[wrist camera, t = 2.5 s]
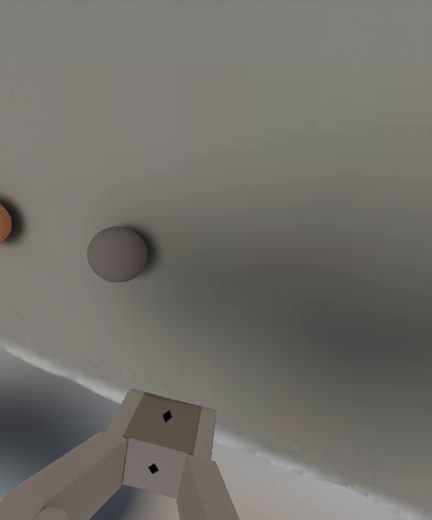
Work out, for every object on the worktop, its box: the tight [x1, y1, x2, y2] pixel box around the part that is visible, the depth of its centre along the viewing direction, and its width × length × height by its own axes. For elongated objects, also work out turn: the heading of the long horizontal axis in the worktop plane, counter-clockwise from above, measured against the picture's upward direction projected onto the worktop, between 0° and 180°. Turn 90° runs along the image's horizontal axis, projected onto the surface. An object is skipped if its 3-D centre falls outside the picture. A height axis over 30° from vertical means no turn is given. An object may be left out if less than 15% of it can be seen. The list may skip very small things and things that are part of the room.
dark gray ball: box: [87, 227, 148, 282], centre depth 22 cm, size 5×5×5 cm
